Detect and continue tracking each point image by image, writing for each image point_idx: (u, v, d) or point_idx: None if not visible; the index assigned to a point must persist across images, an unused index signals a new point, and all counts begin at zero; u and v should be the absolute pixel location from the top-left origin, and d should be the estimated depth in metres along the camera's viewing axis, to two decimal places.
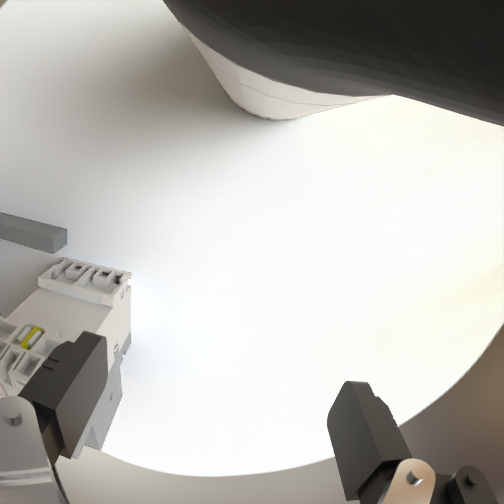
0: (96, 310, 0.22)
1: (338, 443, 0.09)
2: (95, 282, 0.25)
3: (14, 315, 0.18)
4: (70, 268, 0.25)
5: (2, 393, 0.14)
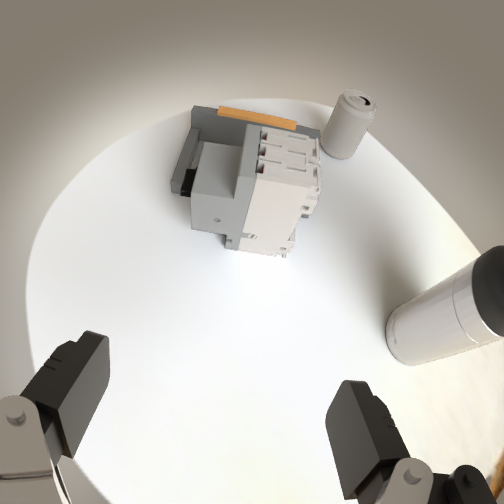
0: None
1: (336, 442, 0.09)
2: None
3: None
4: None
5: (292, 148, 0.31)
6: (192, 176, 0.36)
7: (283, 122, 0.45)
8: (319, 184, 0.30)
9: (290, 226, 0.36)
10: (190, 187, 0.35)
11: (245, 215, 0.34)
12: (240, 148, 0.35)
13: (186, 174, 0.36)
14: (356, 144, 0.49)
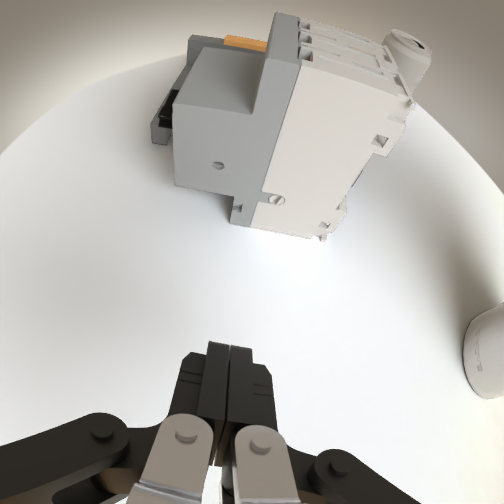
0: None
1: None
2: None
3: None
4: None
5: (352, 46, 0.16)
6: None
7: None
8: (410, 95, 0.14)
9: (346, 180, 0.20)
10: None
11: (270, 154, 0.18)
12: (261, 56, 0.19)
13: (171, 95, 0.20)
14: None
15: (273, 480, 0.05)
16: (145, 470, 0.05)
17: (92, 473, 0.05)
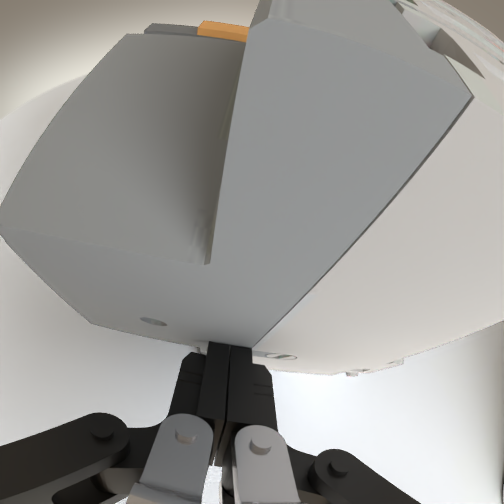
0: None
1: None
2: None
3: None
4: None
5: None
6: None
7: None
8: None
9: (426, 346, 0.08)
10: None
11: (270, 324, 0.07)
12: None
13: None
14: None
15: (274, 479, 0.05)
16: (146, 470, 0.05)
17: (92, 473, 0.05)
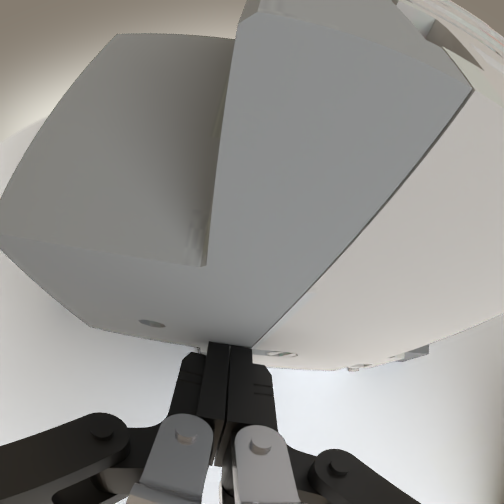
0: None
1: None
2: None
3: None
4: None
5: None
6: None
7: None
8: None
9: (427, 340, 0.08)
10: None
11: (270, 323, 0.07)
12: None
13: None
14: None
15: (273, 480, 0.05)
16: (145, 469, 0.05)
17: (92, 473, 0.05)
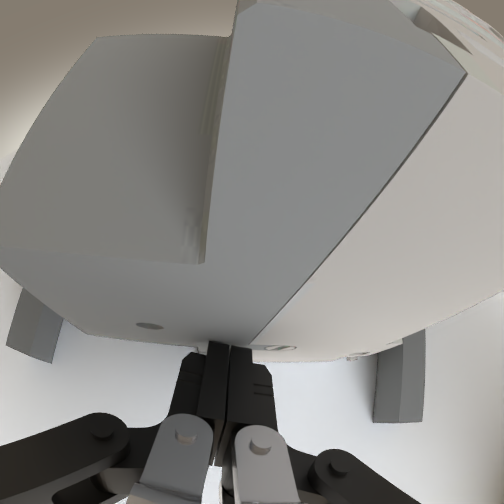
0: None
1: None
2: None
3: None
4: None
5: None
6: None
7: None
8: None
9: (425, 323, 0.09)
10: None
11: (269, 317, 0.07)
12: (224, 39, 0.08)
13: None
14: None
15: (274, 480, 0.05)
16: (146, 470, 0.05)
17: (92, 473, 0.05)
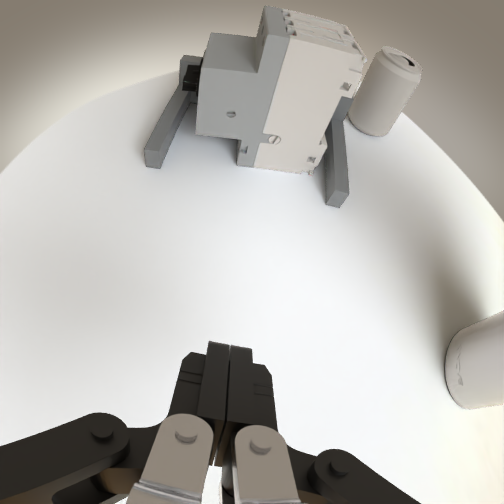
0: None
1: None
2: None
3: None
4: None
5: (321, 26, 0.22)
6: (196, 69, 0.26)
7: None
8: (363, 53, 0.20)
9: (324, 118, 0.26)
10: (195, 78, 0.25)
11: (269, 102, 0.25)
12: (254, 38, 0.25)
13: (188, 68, 0.26)
14: (395, 117, 0.35)
15: (274, 480, 0.05)
16: (146, 470, 0.05)
17: (92, 473, 0.05)
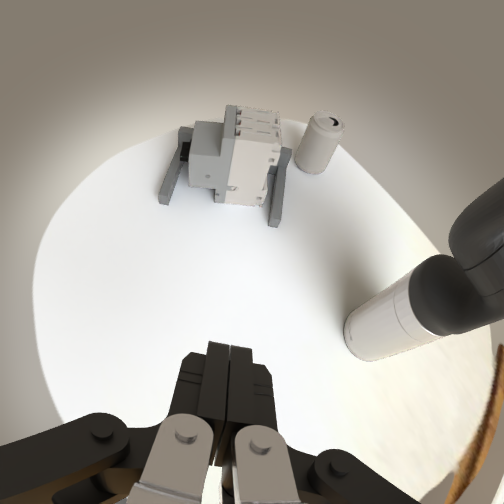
0: None
1: None
2: None
3: None
4: None
5: (259, 119, 0.43)
6: (187, 146, 0.47)
7: None
8: (280, 141, 0.41)
9: (262, 176, 0.47)
10: (186, 154, 0.46)
11: (229, 170, 0.46)
12: (222, 123, 0.46)
13: (183, 145, 0.47)
14: (326, 160, 0.56)
15: (273, 480, 0.05)
16: (146, 470, 0.05)
17: (92, 473, 0.05)
